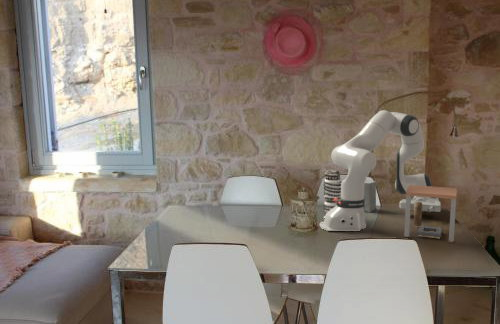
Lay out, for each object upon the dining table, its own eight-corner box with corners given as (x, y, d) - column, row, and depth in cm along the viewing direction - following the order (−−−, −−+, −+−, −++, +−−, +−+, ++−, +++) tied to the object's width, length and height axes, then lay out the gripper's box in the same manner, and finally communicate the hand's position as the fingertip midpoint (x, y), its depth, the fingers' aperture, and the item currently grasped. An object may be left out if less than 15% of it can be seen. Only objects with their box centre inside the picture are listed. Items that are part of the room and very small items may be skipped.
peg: (415, 228, 258) (416, 203, 256) (412, 225, 261) (413, 202, 259) (422, 227, 258) (423, 203, 256) (418, 225, 262) (420, 201, 259)
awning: (407, 228, 257) (409, 184, 253) (454, 233, 249) (457, 188, 245) (404, 238, 243) (406, 192, 239) (453, 243, 235) (456, 195, 231)
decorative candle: (342, 220, 272) (343, 172, 267) (324, 220, 272) (324, 172, 267) (339, 215, 280) (340, 168, 276) (322, 215, 281) (322, 168, 276)
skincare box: (370, 212, 285) (370, 183, 282) (357, 210, 289) (358, 182, 286) (376, 209, 291) (377, 180, 288) (364, 207, 295) (365, 179, 293)
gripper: (400, 195, 283) (397, 201, 270) (441, 198, 275) (440, 205, 262) (400, 206, 284) (397, 213, 271) (441, 210, 276) (439, 217, 264)
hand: (418, 209), depth 267 cm, fingers open, 8 cm apart
